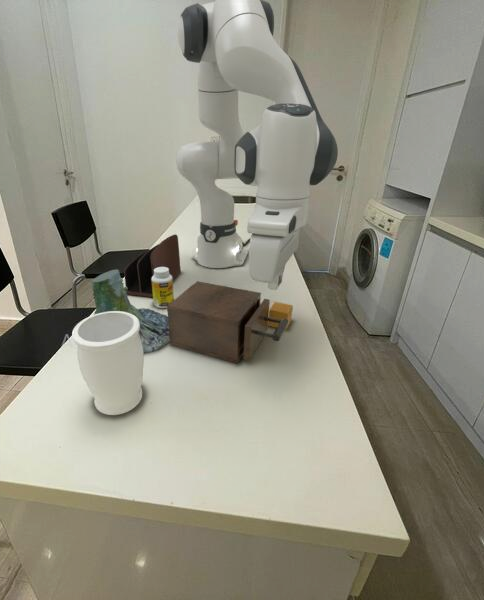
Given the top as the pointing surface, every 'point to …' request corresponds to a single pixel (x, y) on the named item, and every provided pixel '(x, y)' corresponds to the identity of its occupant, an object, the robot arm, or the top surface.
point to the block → (280, 313)
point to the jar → (111, 360)
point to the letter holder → (152, 266)
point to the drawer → (258, 328)
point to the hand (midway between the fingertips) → (274, 286)
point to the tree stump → (130, 310)
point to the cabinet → (210, 319)
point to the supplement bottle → (162, 287)
